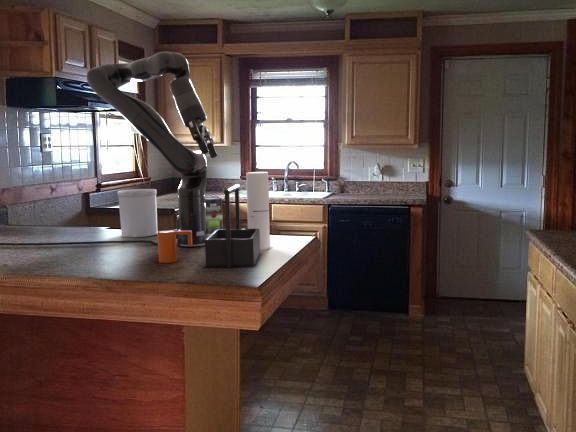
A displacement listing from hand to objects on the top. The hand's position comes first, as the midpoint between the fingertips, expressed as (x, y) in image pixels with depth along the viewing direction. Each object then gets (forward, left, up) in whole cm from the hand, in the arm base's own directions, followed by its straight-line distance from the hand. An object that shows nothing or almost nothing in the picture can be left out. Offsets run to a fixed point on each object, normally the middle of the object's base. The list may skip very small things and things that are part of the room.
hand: (210, 155), depth 199 cm
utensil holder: (-50, +31, -31) cm, 67 cm away
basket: (+12, -9, -31) cm, 34 cm away
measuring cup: (-5, -15, -31) cm, 35 cm away
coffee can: (-23, +39, -31) cm, 55 cm away
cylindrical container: (+10, +13, -31) cm, 35 cm away
